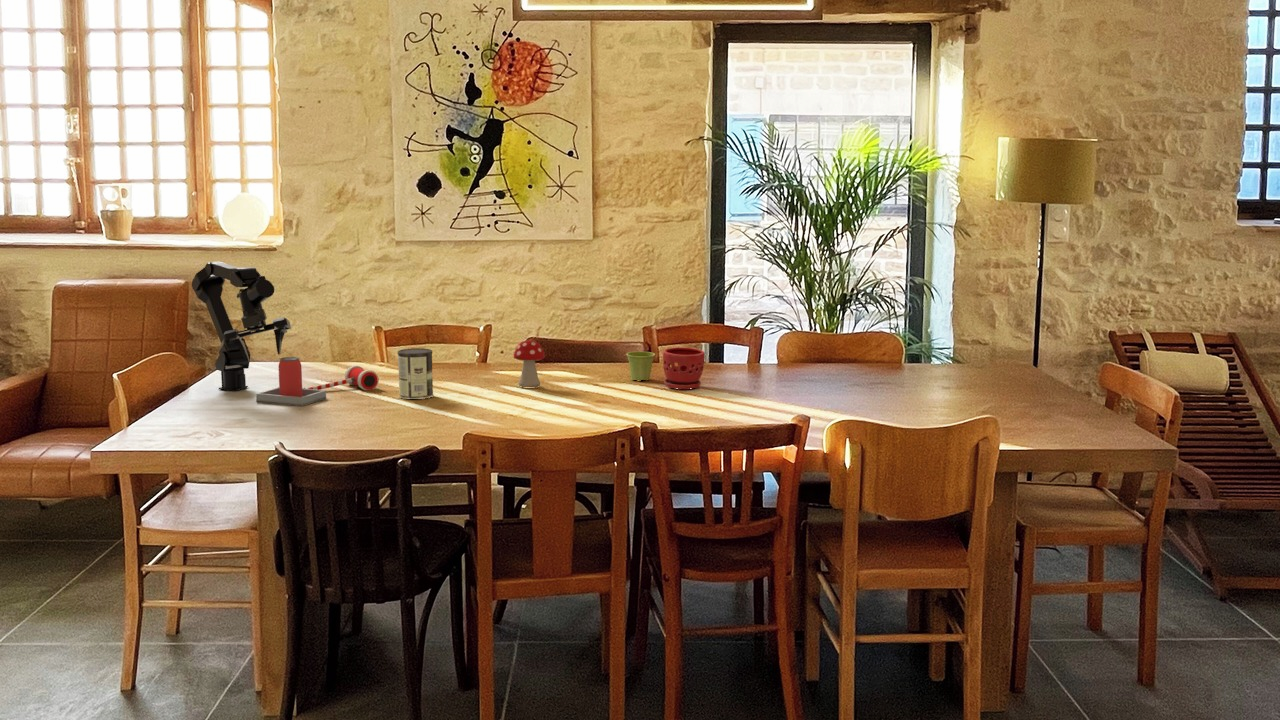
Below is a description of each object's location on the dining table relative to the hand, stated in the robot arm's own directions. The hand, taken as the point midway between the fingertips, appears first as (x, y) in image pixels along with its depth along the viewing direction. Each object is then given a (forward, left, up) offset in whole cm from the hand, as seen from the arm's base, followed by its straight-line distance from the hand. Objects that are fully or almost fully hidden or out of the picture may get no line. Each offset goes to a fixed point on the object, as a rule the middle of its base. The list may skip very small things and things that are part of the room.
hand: (263, 358), depth 380 cm
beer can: (+9, +1, -12) cm, 15 cm away
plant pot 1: (+93, +72, -13) cm, 118 cm away
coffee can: (+40, +20, -13) cm, 46 cm away
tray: (+9, +1, -12) cm, 15 cm away
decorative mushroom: (+65, +47, -12) cm, 81 cm away
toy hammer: (+13, +22, -13) cm, 29 cm away
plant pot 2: (+110, +65, -13) cm, 128 cm away
